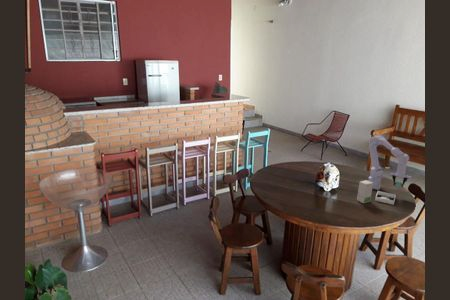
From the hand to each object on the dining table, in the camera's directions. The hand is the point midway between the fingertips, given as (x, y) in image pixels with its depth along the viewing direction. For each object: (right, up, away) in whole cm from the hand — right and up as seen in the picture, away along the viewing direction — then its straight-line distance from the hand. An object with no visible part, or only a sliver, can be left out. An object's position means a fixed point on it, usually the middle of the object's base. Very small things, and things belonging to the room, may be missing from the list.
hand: (398, 185), depth 245 cm
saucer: (-12, -10, -3) cm, 16 cm away
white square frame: (-12, -10, -3) cm, 16 cm away
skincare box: (-30, -11, -6) cm, 33 cm away
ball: (0, -2, 0) cm, 2 cm away
